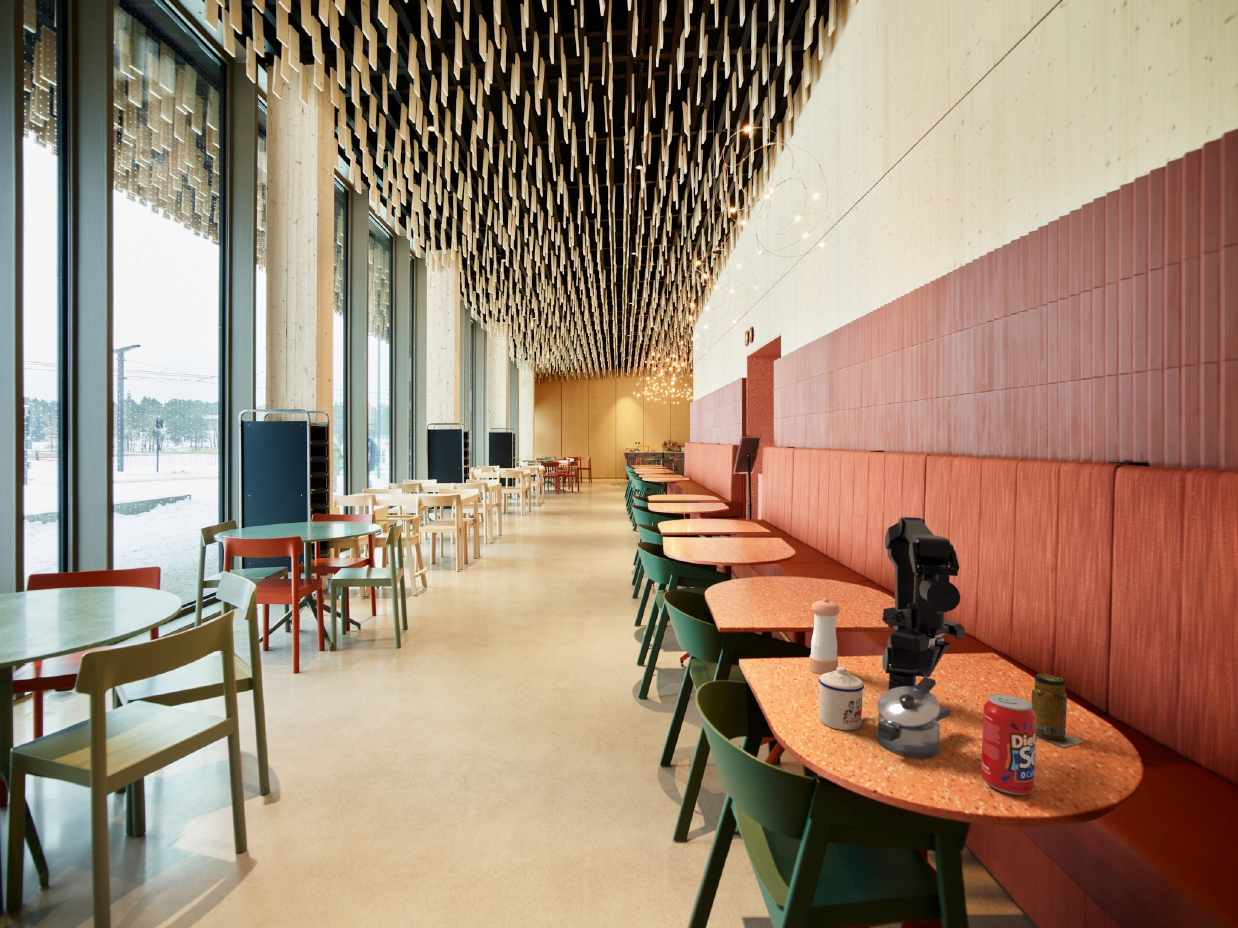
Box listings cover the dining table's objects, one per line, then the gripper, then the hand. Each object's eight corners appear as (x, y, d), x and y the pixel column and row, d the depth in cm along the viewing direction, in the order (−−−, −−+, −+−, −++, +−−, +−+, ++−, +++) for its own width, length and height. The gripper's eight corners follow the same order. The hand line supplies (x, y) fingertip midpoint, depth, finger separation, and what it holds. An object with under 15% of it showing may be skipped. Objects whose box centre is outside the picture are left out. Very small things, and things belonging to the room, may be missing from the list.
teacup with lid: (849, 735, 126) (851, 678, 126) (809, 720, 133) (811, 666, 133) (876, 719, 135) (878, 666, 134) (837, 706, 141) (838, 655, 141)
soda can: (977, 770, 113) (980, 689, 113) (1028, 780, 110) (1031, 696, 110) (984, 792, 106) (987, 704, 106) (1038, 803, 103) (1042, 713, 103)
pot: (917, 719, 135) (918, 692, 135) (970, 739, 126) (971, 710, 126) (857, 744, 123) (858, 715, 122) (911, 768, 114) (912, 736, 113)
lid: (904, 675, 132) (902, 666, 131) (958, 692, 123) (957, 682, 122) (864, 716, 124) (862, 707, 123) (919, 738, 115) (917, 728, 114)
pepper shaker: (811, 663, 170) (813, 594, 170) (839, 668, 167) (841, 597, 166) (806, 671, 163) (809, 599, 163) (835, 677, 160) (838, 602, 160)
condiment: (1040, 725, 134) (1042, 669, 134) (1084, 742, 127) (1086, 683, 126) (1019, 730, 131) (1022, 674, 131) (1063, 748, 124) (1065, 688, 123)
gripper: (915, 586, 138) (912, 657, 138) (866, 596, 127) (863, 672, 127) (967, 597, 129) (964, 672, 129) (919, 608, 118) (916, 690, 118)
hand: (926, 676), depth 126 cm, fingers closed
